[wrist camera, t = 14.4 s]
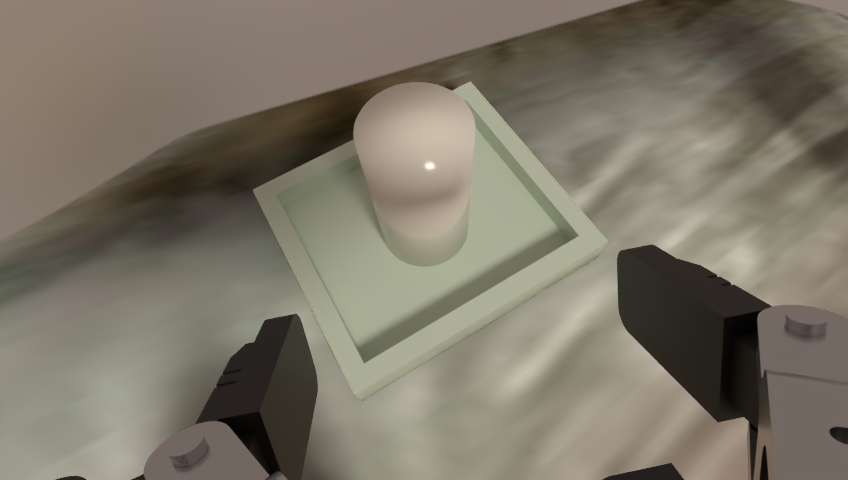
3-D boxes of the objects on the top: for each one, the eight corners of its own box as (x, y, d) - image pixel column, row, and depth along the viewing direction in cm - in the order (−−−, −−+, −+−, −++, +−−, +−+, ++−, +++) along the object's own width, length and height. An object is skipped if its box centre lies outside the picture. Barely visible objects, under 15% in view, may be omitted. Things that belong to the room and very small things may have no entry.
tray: (362, 400, 27) (354, 395, 24) (266, 208, 33) (252, 189, 30) (596, 257, 30) (608, 241, 27) (469, 105, 36) (470, 81, 33)
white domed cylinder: (410, 282, 29) (392, 202, 20) (367, 216, 31) (332, 116, 22) (485, 237, 30) (500, 142, 21) (438, 176, 32) (433, 64, 23)
